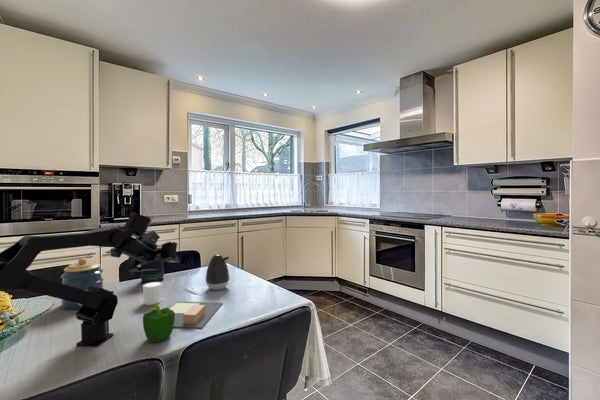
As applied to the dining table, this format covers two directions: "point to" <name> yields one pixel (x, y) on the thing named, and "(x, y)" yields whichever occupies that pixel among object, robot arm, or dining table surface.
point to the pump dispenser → (217, 273)
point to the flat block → (194, 314)
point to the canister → (81, 278)
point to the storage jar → (153, 272)
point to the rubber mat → (183, 307)
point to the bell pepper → (158, 323)
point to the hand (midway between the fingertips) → (168, 264)
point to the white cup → (152, 292)
